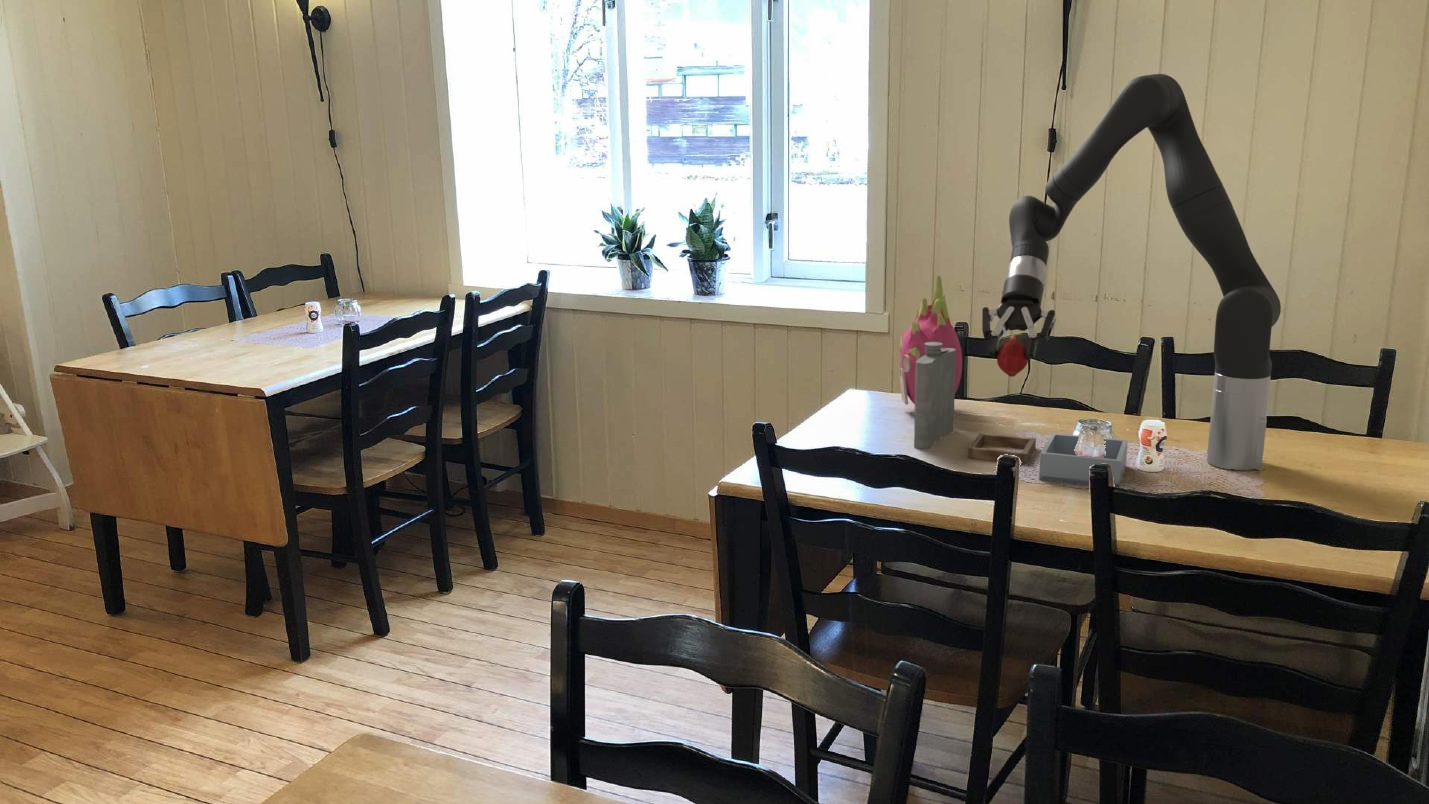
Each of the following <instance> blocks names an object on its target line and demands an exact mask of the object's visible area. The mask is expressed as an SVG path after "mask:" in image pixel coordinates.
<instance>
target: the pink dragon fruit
mask: <svg viewBox="0 0 1429 804" xmlns="http://www.w3.org/2000/svg"><path fill="white" fill-rule="evenodd" d="M943 290H944V289H943V284H942V277H941V276H939V275H938V276H937V277H936V283H935V288H934V292H933V296H932V301H931V302H930V303H931V304H929V305H928V300H927V298H926V297H924V298H923V299H922V300H921V302H920V306H919V307H920V308H918V307H917V308H916V309H915V310H916V313H917V314H916V317H915V320H914V321H913V322H912V324H911V325H910V326H909V328H908V329H907V330H906V332H905V333H904V334H903V335H900V339H899V355H900V356H899V369H898V370H899V371H898V372H899V373H898V374H899V382H900V383H899V384H900V393H901V401H902V402H903V403H904V404H905V405H906V406H907V405H909V400H910V401H911V403H913V405H915V377H916V361H917V360H918V359H919V358H921V357H922V356H924V355H926V353H925V349H926V348H924V343H927V342H939V343H942V344H943V348H953V349H956V365H955V394H956V393H957V390H958V388H959V386H960V382H961V378H962V372H963V354H962V347H961V344H960V339H959V337H958V335H957V333H956V330H955V327H954V326H953V325H952V323H951V318H950V315H949V311H948V305H947V301H946V294H944V292H943ZM941 349H942V348H941Z"/></svg>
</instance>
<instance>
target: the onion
mask: <svg viewBox="0 0 1429 804" xmlns="http://www.w3.org/2000/svg"><path fill="white" fill-rule="evenodd" d="M1026 350H1027V347H1025V345H1024V344H1022V342H1020V341H1019V340H1017V336H1016V335H1013V334H1012V335H1010V337H1009V339H1008V340H1007V341H1005V342H1004V343H1002V345H1001V346H999V348H998V353H997V358H996V362H997V365H998V368H999V369H1000V370H1001V371H1002V372H1003V373H1005V374H1006V375H1007V376H1009V377H1010V378H1013V377H1016V375H1018V374H1020V372H1022V371H1023V370H1024V369H1025V368H1026V367H1027V365H1028V363H1029V362H1028V361H1029V360H1027V359H1026Z"/></svg>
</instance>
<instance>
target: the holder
mask: <svg viewBox="0 0 1429 804" xmlns="http://www.w3.org/2000/svg"><path fill="white" fill-rule="evenodd" d="M1036 441H1037V438H1036V437H1035V438H1034V437H1025V436H1016V435H1014V436H1013V435H1006V434H1005V435H1003V434H993V433H983V432H982V433H981V432H979V433H978V435H977V436H976V437H975V438H974V440H973V441H972V442H971V444H970V445H969V446H967V459H972V460H973V459H975V460H980V461H981V460H984V461H991V462H992V461H993V462H997V461H996V460H997V458H998V457H999V456H1000V455H1004V454H1008V455H1015V456H1017V457H1019V458H1020V460H1021V462H1022V464H1021V465H1027V463H1028V461H1029V460H1030V458H1031V456H1032V455H1033V453H1034V451H1035V450H1036V446H1037V445H1036V443H1037V442H1036ZM984 445H985V446H987V445H988V446H994V447H995V446H996V447H1005V448H1014V449H1015V448H1017V449H1022V451H1015V450H1014V451H1013V450H1005V449H996V448H995V449H994V448H985V447H983V446H984Z"/></svg>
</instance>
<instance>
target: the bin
mask: <svg viewBox="0 0 1429 804" xmlns="http://www.w3.org/2000/svg"><path fill="white" fill-rule="evenodd" d="M1078 436H1079V435H1076V434H1075V435H1074V434H1065V433H1064V434H1063V433H1054V432H1053V433H1051V434H1050V435H1049V437H1048V438H1047V441H1046V443H1045V444H1044V446H1043V448H1042V450H1041V452H1040V454H1039V457H1040V458H1039V475H1038V476H1039V477H1038V480H1039V481H1040V480H1041V481H1046V482H1047V481H1048V482H1056V483H1065V484H1066V483H1067V484H1076V485H1083V486H1090V485H1089V467H1090V466H1092V465H1093V464H1096V463H1111V464H1112V472H1113V477H1114V484H1115V487H1119V488H1120V487H1121V486H1120V485H1121V482H1122V480H1123V476H1124V473H1125V470H1126V467H1127V454H1128V442H1129V440H1128V439H1121V438H1119V439H1117V438H1110V437H1108V439H1104V441H1106V443H1105V444H1104V445H1106V446H1105V447H1106V448H1105V451H1106V456H1104V458H1097V457H1087V456H1077V455H1076V454H1075V451H1074V449H1075V446H1076V444H1077V441H1078V438H1079V437H1078Z"/></svg>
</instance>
